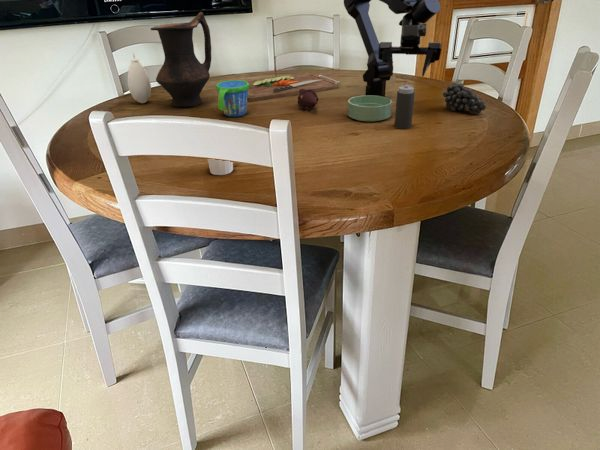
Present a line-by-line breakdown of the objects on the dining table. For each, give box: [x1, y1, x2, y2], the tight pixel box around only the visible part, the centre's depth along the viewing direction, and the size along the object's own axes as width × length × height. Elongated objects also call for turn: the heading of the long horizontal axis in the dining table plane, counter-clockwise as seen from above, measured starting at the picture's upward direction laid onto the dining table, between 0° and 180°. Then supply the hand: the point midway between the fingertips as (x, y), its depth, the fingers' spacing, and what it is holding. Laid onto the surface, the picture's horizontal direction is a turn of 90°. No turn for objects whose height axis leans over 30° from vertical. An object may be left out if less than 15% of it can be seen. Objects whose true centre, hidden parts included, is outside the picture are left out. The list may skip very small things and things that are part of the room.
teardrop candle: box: [127, 51, 152, 104], centre depth 167 cm, size 8×8×18 cm
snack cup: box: [215, 79, 249, 118], centre depth 153 cm, size 16×10×10 cm
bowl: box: [347, 95, 393, 122], centre depth 149 cm, size 14×14×5 cm
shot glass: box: [207, 159, 234, 176], centre depth 112 cm, size 7×7×7 cm
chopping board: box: [245, 72, 340, 102], centre depth 186 cm, size 45×27×3 cm, turn 117°
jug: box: [150, 11, 212, 108], centre depth 161 cm, size 21×18×30 cm
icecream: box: [296, 89, 320, 111], centre depth 157 cm, size 7×7×15 cm
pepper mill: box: [394, 84, 415, 130], centre depth 137 cm, size 5×5×13 cm
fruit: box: [442, 82, 487, 115], centre depth 150 cm, size 9×8×15 cm
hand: (407, 75), depth 140 cm, fingers open, 9 cm apart
